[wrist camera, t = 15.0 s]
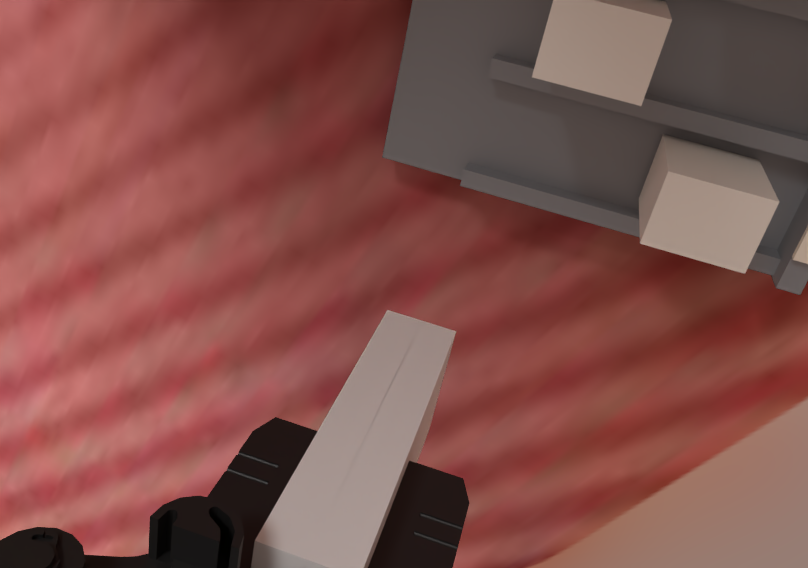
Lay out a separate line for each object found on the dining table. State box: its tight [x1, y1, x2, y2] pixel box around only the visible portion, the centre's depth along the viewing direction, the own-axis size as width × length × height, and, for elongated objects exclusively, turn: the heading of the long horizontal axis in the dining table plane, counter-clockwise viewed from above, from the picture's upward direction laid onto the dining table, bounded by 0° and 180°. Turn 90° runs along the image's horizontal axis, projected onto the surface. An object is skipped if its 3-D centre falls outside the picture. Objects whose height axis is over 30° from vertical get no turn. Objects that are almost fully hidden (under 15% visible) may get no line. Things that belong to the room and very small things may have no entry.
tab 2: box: [639, 134, 779, 274], centre depth 31 cm, size 4×3×5 cm
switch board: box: [382, 0, 808, 295], centre depth 31 cm, size 20×16×4 cm
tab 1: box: [532, 0, 672, 106], centre depth 29 cm, size 4×3×5 cm
